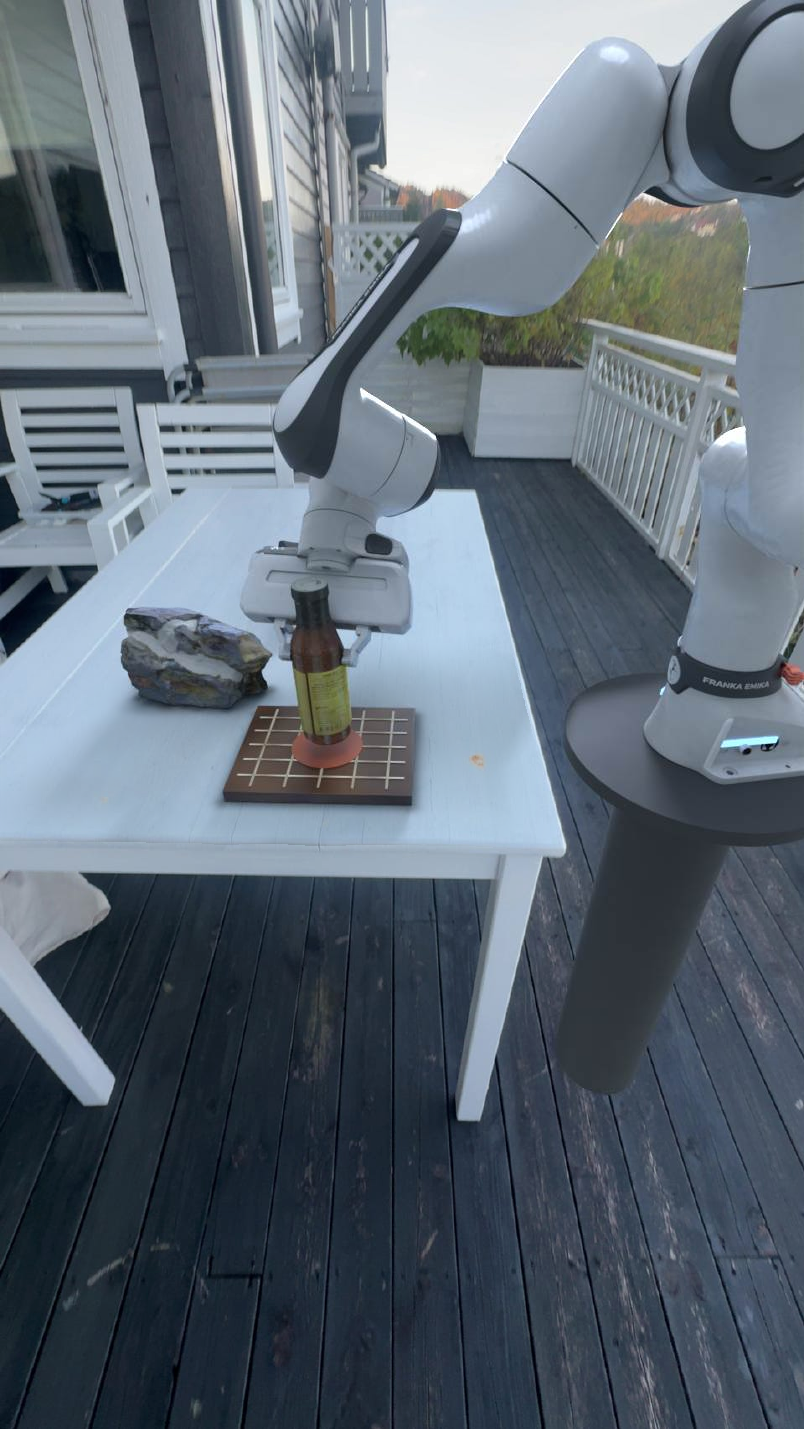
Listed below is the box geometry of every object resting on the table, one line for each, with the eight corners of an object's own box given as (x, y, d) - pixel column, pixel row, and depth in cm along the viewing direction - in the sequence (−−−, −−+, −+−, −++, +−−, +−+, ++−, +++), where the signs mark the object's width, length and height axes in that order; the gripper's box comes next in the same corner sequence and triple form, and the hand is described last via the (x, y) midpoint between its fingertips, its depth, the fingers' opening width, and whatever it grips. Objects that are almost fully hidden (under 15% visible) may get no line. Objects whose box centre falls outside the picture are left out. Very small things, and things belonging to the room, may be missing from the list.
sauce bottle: (360, 725, 79) (354, 578, 68) (337, 753, 75) (325, 600, 63) (316, 713, 82) (302, 568, 70) (290, 740, 77) (271, 589, 66)
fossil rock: (274, 705, 96) (278, 624, 87) (247, 744, 89) (249, 661, 79) (152, 667, 98) (144, 583, 88) (117, 703, 91) (103, 616, 81)
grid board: (415, 716, 87) (415, 707, 86) (411, 805, 72) (411, 795, 71) (259, 714, 88) (257, 704, 87) (224, 801, 73) (221, 790, 72)
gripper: (243, 533, 73) (221, 647, 70) (416, 543, 69) (399, 663, 67) (262, 556, 79) (243, 662, 76) (422, 567, 75) (407, 678, 73)
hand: (317, 663), depth 72 cm, fingers closed on sauce bottle, 6 cm apart
